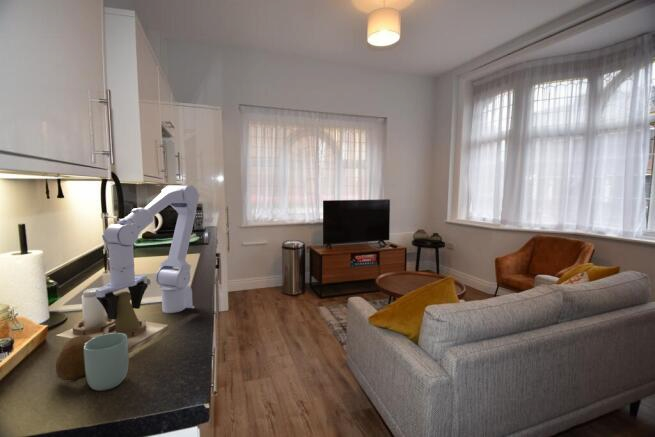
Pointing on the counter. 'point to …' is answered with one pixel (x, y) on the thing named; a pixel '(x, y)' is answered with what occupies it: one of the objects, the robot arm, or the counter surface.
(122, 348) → the cup
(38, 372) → the counter surface
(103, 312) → the salt shaker
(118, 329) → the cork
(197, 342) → the counter surface
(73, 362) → the potato
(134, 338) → the cruet stand
